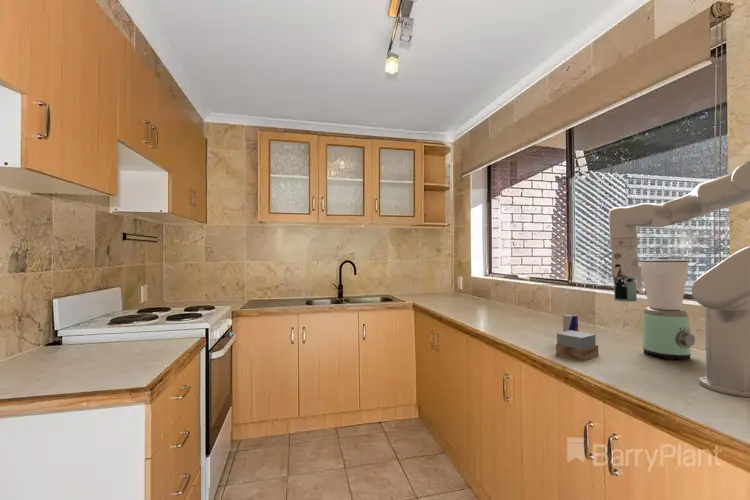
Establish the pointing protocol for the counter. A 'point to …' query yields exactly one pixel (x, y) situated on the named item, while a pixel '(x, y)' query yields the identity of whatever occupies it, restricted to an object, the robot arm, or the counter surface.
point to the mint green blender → (665, 308)
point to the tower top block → (576, 339)
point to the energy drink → (570, 322)
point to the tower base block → (577, 352)
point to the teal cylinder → (629, 292)
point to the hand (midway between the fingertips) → (625, 297)
